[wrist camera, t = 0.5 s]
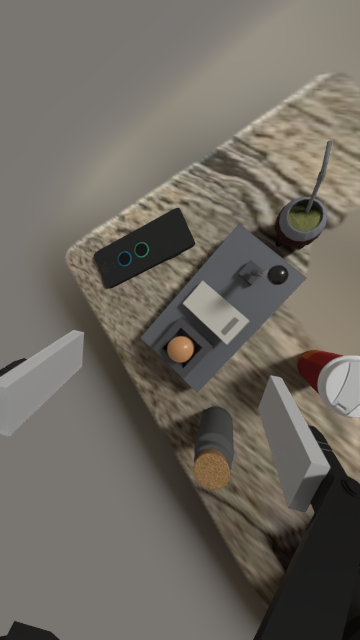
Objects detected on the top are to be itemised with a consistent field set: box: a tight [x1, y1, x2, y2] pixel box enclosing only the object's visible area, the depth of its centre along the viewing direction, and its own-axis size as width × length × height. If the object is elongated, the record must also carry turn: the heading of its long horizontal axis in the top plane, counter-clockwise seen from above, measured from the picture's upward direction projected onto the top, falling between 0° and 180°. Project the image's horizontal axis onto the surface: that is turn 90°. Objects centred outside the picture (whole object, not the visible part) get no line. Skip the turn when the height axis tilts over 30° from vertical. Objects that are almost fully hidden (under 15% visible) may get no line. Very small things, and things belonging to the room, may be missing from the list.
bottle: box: [194, 407, 234, 489], centre depth 38 cm, size 6×6×15 cm
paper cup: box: [298, 350, 360, 418], centre depth 35 cm, size 8×8×14 cm
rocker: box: [183, 281, 250, 345], centre depth 38 cm, size 10×5×1 cm, turn 48°
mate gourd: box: [275, 141, 332, 249], centre depth 35 cm, size 8×8×15 cm
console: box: [141, 224, 306, 392], centre depth 41 cm, size 14×26×8 cm, turn 138°
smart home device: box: [94, 208, 195, 288], centre depth 47 cm, size 8×2×20 cm
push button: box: [167, 336, 194, 362], centre depth 38 cm, size 4×4×2 cm
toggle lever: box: [250, 265, 289, 285], centre depth 32 cm, size 2×2×10 cm
